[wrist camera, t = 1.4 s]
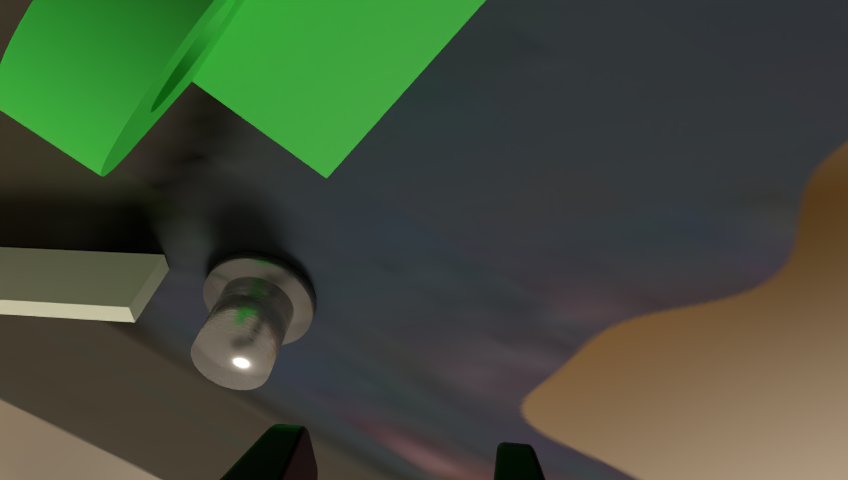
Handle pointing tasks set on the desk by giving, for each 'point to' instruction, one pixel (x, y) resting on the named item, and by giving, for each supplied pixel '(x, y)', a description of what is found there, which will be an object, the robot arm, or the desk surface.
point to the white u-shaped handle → (78, 283)
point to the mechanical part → (219, 68)
